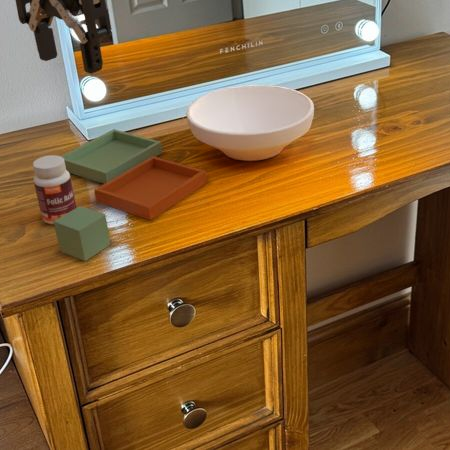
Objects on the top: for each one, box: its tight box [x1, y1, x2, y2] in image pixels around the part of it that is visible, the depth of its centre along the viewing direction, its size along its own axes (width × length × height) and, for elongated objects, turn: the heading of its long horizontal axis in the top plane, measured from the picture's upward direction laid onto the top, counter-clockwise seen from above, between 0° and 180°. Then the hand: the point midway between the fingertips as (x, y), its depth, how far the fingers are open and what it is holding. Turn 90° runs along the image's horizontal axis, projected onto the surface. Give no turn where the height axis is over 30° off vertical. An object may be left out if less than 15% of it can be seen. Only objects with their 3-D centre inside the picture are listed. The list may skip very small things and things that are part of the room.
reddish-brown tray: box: [94, 156, 208, 221], centre depth 109 cm, size 12×10×2 cm
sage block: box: [53, 205, 112, 262], centre depth 96 cm, size 4×4×4 cm
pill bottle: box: [32, 154, 78, 225], centre depth 102 cm, size 5×5×8 cm
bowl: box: [185, 84, 315, 162], centre depth 119 cm, size 20×20×7 cm
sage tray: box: [60, 128, 164, 185], centre depth 118 cm, size 12×10×2 cm
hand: (71, 65), depth 95 cm, fingers open, 8 cm apart
